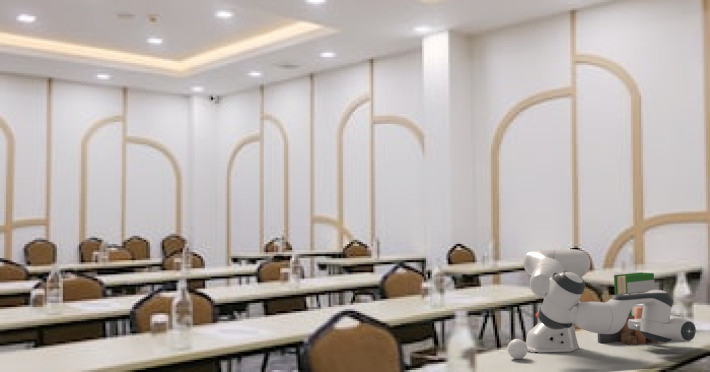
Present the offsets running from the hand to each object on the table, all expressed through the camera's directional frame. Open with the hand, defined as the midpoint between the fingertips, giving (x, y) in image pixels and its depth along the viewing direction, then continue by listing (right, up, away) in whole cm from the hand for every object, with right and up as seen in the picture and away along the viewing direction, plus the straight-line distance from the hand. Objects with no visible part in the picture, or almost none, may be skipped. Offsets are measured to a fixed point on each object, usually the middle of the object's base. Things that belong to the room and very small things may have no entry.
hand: (643, 320), depth 291 cm
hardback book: (+14, -11, +42) cm, 46 cm away
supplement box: (+10, -10, +25) cm, 28 cm away
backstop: (-1, -9, +8) cm, 12 cm away
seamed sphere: (-57, -10, -21) cm, 61 cm away
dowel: (0, -9, +2) cm, 9 cm away
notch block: (-1, -9, +3) cm, 10 cm away
